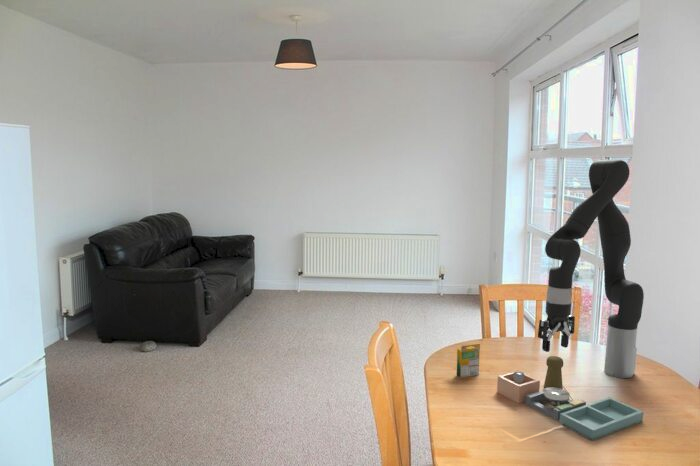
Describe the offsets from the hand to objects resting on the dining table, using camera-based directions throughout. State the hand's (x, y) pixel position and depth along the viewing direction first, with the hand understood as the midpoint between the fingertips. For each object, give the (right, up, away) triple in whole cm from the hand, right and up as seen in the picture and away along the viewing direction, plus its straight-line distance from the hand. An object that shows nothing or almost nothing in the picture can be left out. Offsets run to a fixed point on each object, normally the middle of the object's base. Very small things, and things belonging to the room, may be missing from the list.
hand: (555, 348), depth 179 cm
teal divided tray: (+6, -17, -20) cm, 27 cm away
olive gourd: (0, -14, +2) cm, 14 cm away
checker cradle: (-4, -16, -12) cm, 20 cm away
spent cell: (-13, -14, -3) cm, 19 cm away
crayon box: (-26, -12, +13) cm, 31 cm away
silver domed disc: (-4, -14, -12) cm, 19 cm away
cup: (-13, -14, -3) cm, 20 cm away
